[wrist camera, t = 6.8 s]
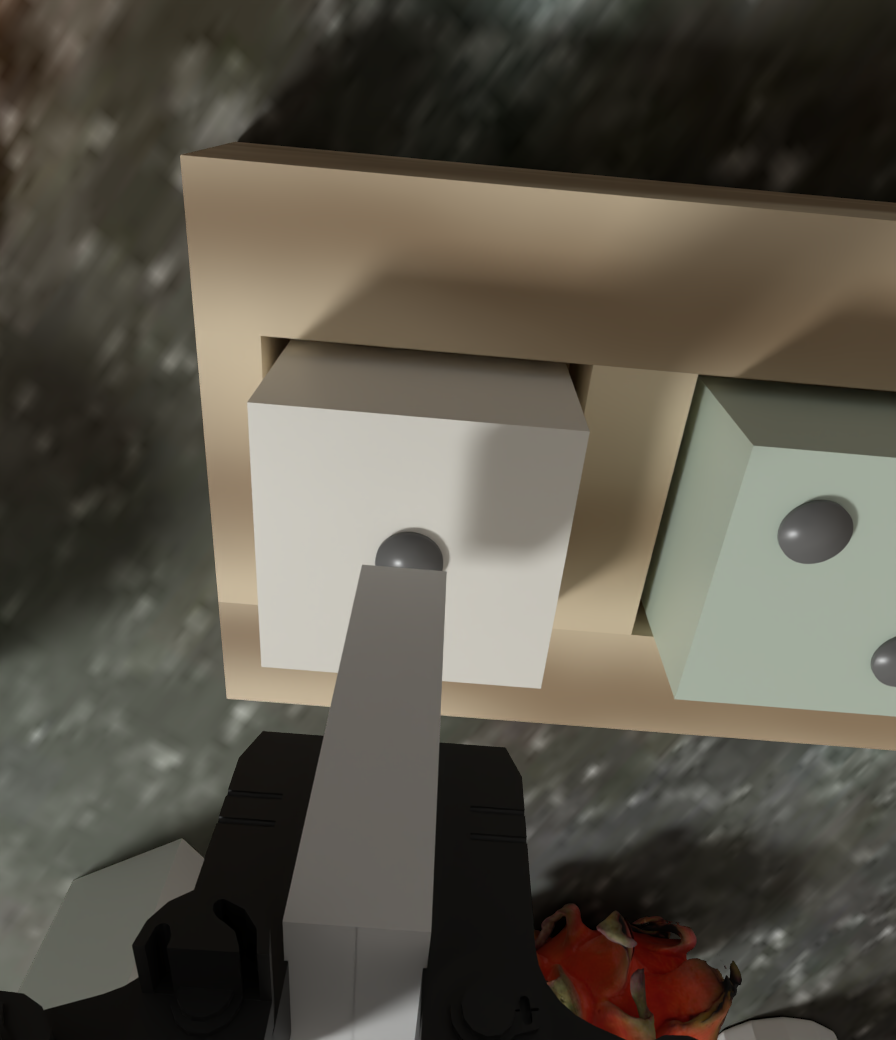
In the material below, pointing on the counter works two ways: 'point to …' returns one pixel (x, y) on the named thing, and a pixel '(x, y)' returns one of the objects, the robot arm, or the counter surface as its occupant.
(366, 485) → the key one
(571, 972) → the dragon fruit
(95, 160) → the counter surface
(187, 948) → the robot arm
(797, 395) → the key two
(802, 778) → the counter surface
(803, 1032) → the white cup
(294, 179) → the key panel
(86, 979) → the white cube
